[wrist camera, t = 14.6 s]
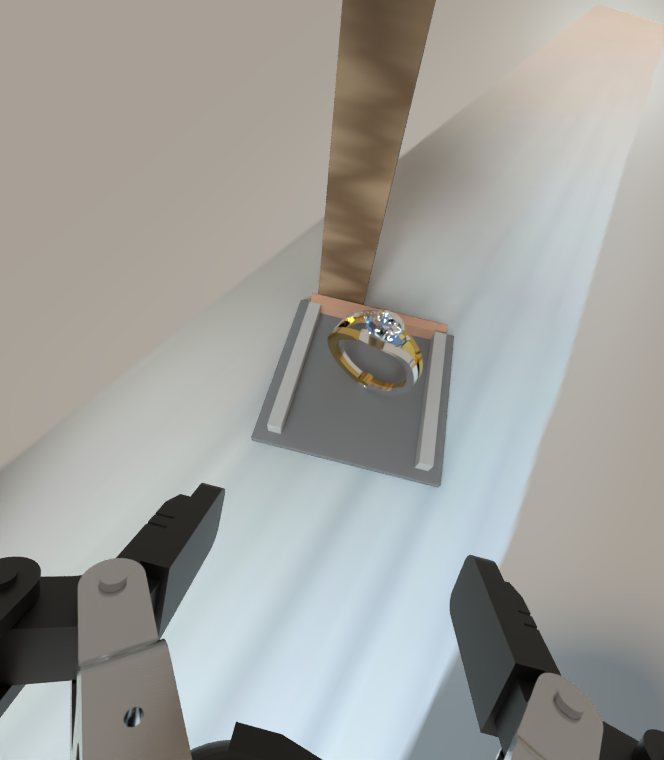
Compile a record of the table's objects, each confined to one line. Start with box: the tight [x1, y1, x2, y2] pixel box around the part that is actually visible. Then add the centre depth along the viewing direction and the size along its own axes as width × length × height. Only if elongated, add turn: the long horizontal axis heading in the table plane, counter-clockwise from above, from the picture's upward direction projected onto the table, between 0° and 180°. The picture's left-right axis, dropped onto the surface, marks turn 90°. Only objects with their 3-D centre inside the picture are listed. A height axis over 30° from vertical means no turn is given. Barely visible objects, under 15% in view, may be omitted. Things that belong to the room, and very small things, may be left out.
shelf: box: [319, 0, 436, 305], centre depth 22 cm, size 14×14×27 cm
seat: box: [251, 293, 454, 487], centre depth 31 cm, size 14×14×2 cm
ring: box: [328, 310, 423, 397], centre depth 27 cm, size 7×3×8 cm, turn 54°
